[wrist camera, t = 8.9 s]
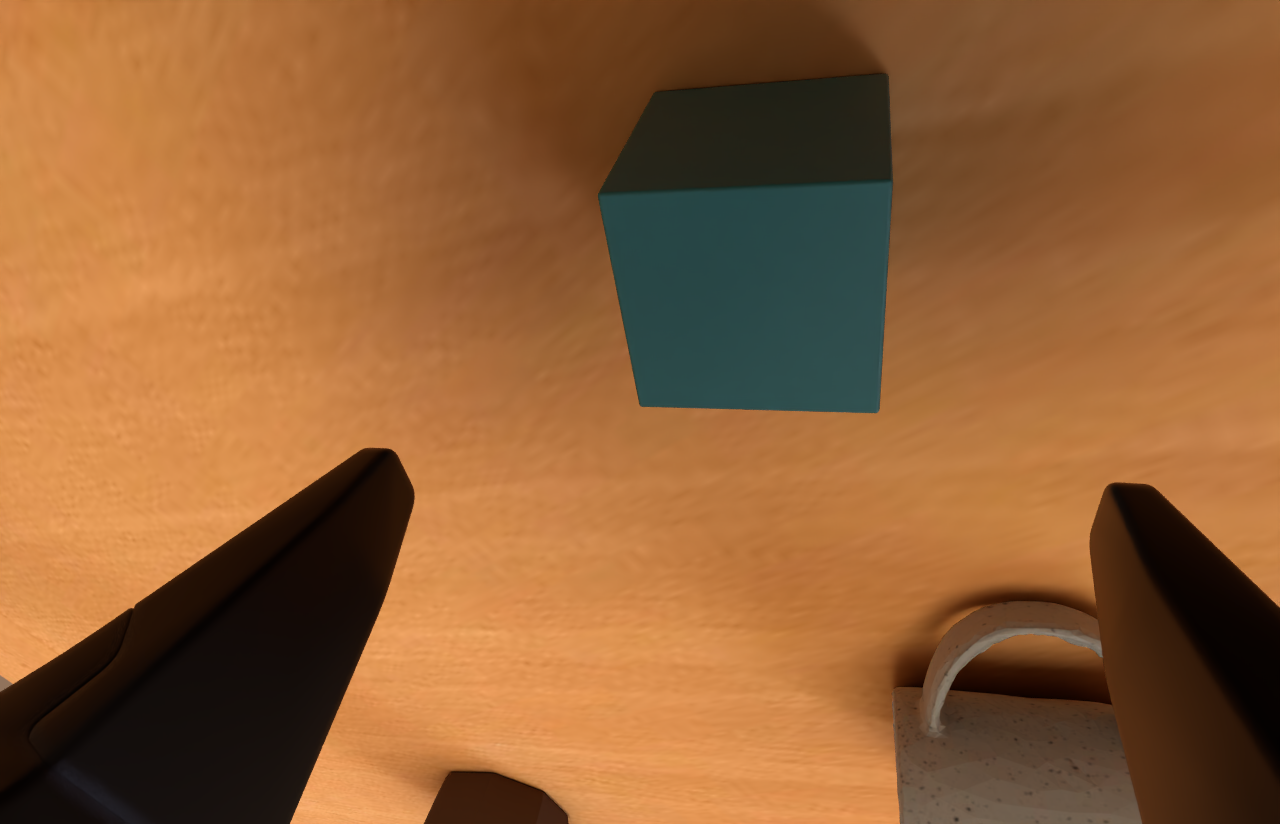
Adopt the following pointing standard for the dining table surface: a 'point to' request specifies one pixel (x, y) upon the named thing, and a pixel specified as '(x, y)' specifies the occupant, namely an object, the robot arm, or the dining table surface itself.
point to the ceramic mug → (1008, 737)
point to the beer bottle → (491, 802)
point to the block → (755, 245)
